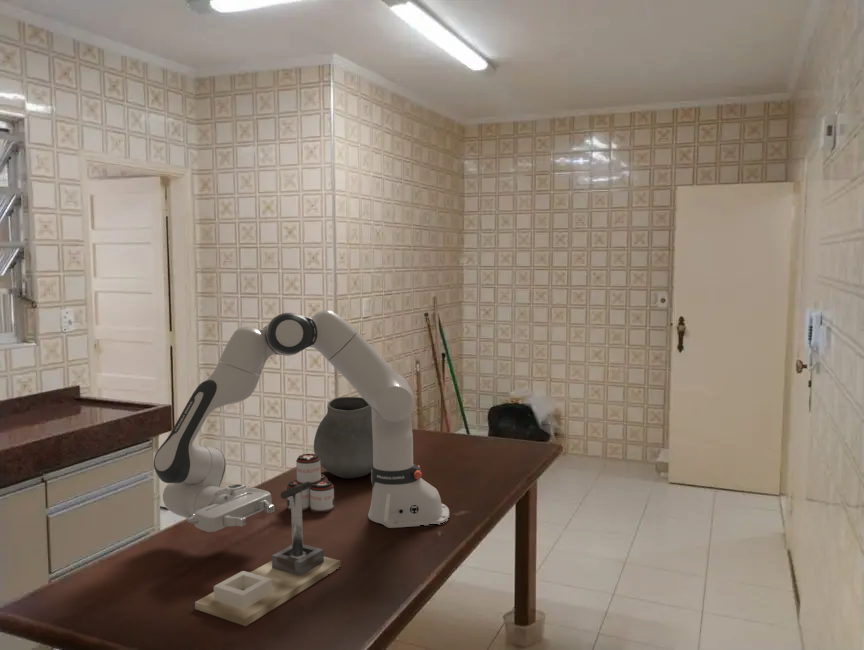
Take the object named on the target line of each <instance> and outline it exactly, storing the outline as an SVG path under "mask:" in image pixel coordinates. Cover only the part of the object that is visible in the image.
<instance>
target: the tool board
mask: <svg viewBox="0 0 864 650" xmlns="http://www.w3.org/2000/svg"><path fill="white" fill-rule="evenodd" d="M303 551H304V552H306V555H305V556H304V557H302V558H300V559H297V558H293V557H290V556H289V555H290V554H291V553H292V544H291V545H289V546H287V547H285V548H284V549H281V550H279V551H277V552H276V553H274V554H271V560H270V561H269V562H267V563H264V564H263V565H261V566H259V567H257V568H255V569H254V570H252V571H249V572H250V573H253V574H256V575H260V576H263V577H267V578H270V579H272V593H271V594H270V595H268V596H266V597H264V598H263V599H261V600H259V601H258V602H256V603H254V604H253V605H251V606H249V607H248V608H246V609H244V610H242V609H239V608H236V607H233V606H230V605H227V604H224V603H221V602H218V601H215V600H214V591H213V592H211V593H209V594H207V595H205V596H204V597H202V598H200V599H198V600H196V601H195V602H194V609H195V610H197V611H200V612H203V613H206V614H209V615H212V616H214V617H217V618H220V619H223V620H225V621H229V622H232V623H234V624H237V625H240V626H242V627H243V626H244V627H247V626H249V625H250V624H251V623H253V622H255V621H257V620H258V619H260V618H262V617H263V616H265V615H266V614H268V613H270V612H271V611H273V610H274V609H276V608H278V607H279V606H281V605H282V604H284V603H285V602H287V601H288V600H291V599H292V598H293V597H295V596H296V595H298V594H300V593H301V592H303V591H305V590H306V589H308V588H310V587H311V586H312V585H314V584H315V583H317V582H319V581H321V580H322V579H323V578H325V577H327V576H329V575H330V574H332V573H333V572H335V571H336V569H337V570H338V569H340V568H341V560H338V559H334V558H331V557H327V556H324V554H325V551H324V549H323V548H319V547H315V546H311V545H308V544H304V543H303ZM339 567H340V568H339ZM328 574H329V575H328ZM242 590H245V589H242Z"/></svg>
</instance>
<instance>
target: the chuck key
mask: <svg viewBox="0 0 864 650" xmlns="http://www.w3.org/2000/svg"><path fill="white" fill-rule="evenodd" d="M310 487H311V483H310V482H305V483H302V484H300V485H298V486H295V487H293V488H291V489H288V490H287V489H286V490H283V491H282V492H281V493H279V497H280V499H282V500H287V498H288V497H290V496H291V511H290V513H291V514H290V515H291V545H292V553H291V554H290V555H289V556H290V557H293V558H297V559H300V558H302V557H304V556H305V555H306V552H304V551H303V544H304V535H303V534H304V530H303V511H302V491H304V490H306V489H309V488H310Z"/></svg>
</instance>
